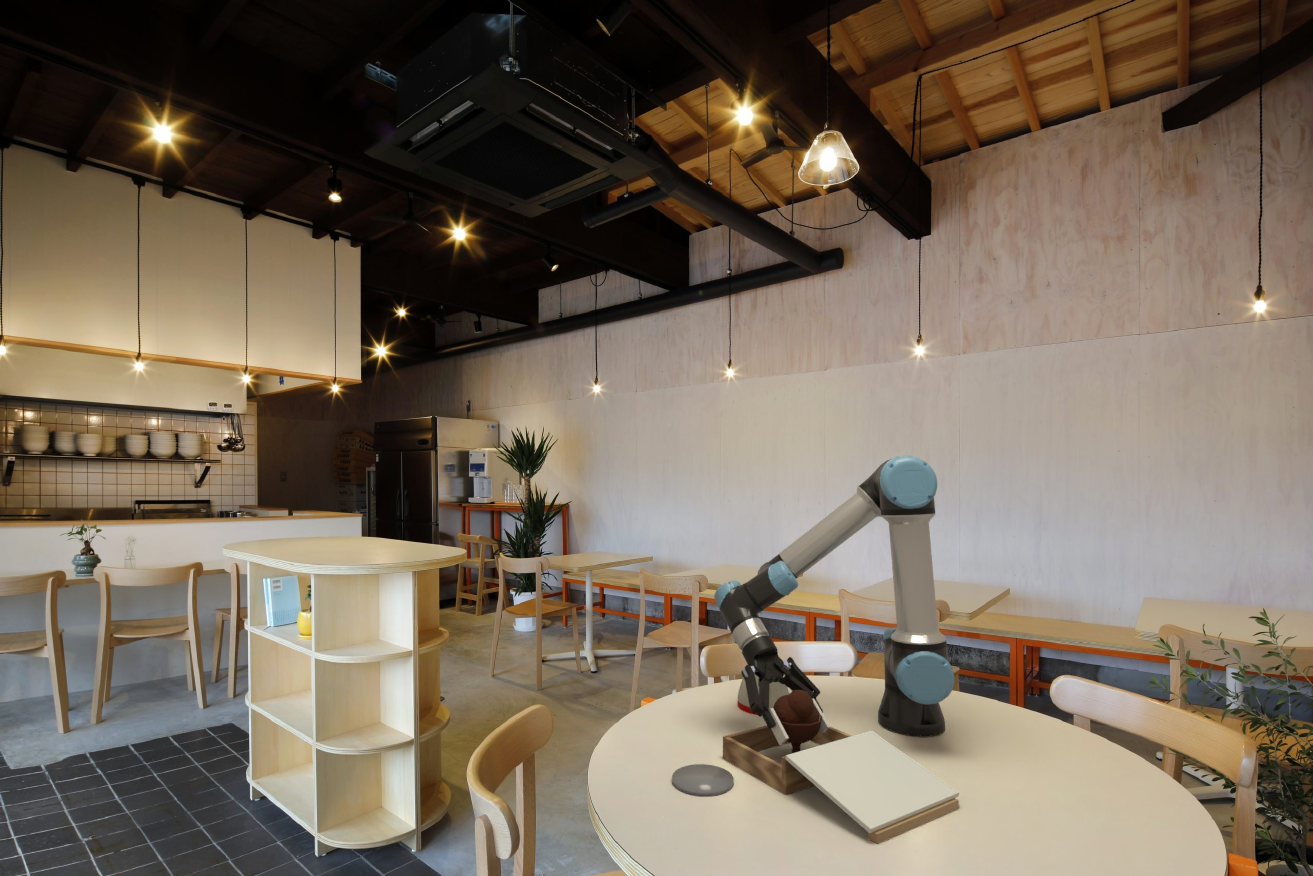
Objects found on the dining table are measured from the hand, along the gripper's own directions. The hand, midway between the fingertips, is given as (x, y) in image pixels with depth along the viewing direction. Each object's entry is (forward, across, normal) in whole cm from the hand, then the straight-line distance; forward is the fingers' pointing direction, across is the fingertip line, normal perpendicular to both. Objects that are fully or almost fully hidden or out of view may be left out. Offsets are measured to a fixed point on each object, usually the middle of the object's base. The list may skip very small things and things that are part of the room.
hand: (805, 736), depth 133 cm
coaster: (0, +22, -8) cm, 24 cm away
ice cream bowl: (+3, 0, -6) cm, 7 cm away
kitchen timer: (-18, -17, -28) cm, 37 cm away
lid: (+16, 0, +7) cm, 18 cm away
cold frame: (+2, 0, -6) cm, 7 cm away
